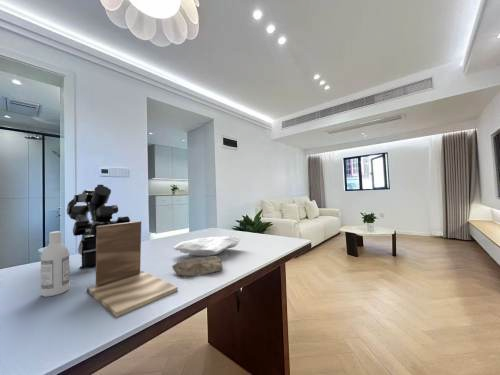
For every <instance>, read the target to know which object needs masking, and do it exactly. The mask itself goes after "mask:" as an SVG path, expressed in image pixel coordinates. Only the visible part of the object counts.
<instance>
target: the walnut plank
mask: <svg viewBox="0 0 500 375" xmlns="http://www.w3.org/2000/svg"><path fill="white" fill-rule="evenodd" d="M141 248H142V220H141V221H140V220H137V221H130V222H127V223H119V224H110V225H102V226H96V267H95V285H96V286H100V285H104V284H107V283H110V282H113V281H117V280H120V279H123V278H126V277H129V276H133V275H136V274H139V273H140V271H141V260H142V259H141V254H142V253H141Z"/></svg>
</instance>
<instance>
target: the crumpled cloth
mask: <svg viewBox="0 0 500 375" xmlns="http://www.w3.org/2000/svg"><path fill="white" fill-rule="evenodd" d="M240 241H241V238H240V237H236V236H207V237H200V238H195V239H191V240H186V241H185V240H184V241H181V242H180V243H178V244H175V245H174V246H173V247H172V248H173V250H174V251H179V252H180V253H183V254H188V255H190V256H200V257H208V256H215V255H217V254H219V253H221V252H223V251H225V250H229V249H232V248H235V247H236V246H238V245H239V243H240Z"/></svg>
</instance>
